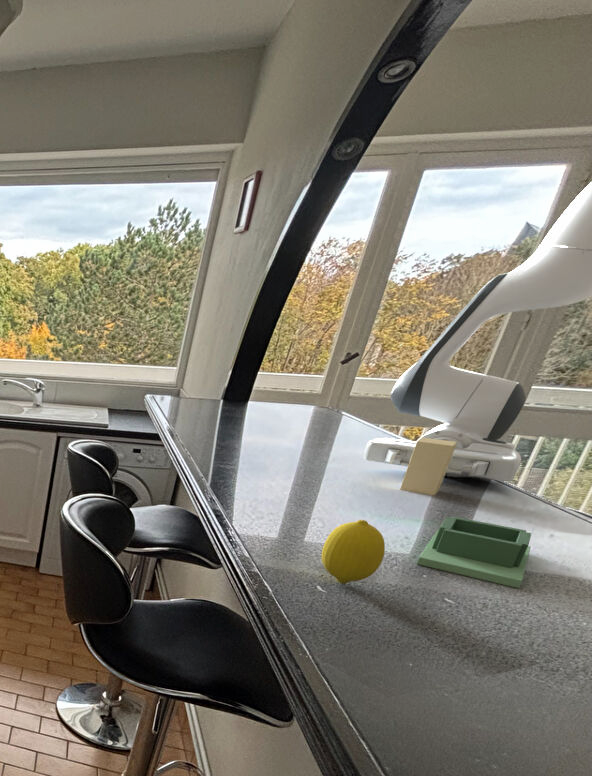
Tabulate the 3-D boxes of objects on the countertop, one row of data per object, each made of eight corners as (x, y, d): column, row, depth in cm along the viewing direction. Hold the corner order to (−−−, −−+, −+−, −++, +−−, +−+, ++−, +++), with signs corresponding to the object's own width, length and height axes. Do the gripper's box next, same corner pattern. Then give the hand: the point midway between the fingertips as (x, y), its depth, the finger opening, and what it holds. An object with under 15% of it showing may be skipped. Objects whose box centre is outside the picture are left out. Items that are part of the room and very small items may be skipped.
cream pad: (401, 493, 103) (421, 437, 100) (435, 499, 100) (457, 441, 96) (396, 498, 101) (416, 441, 97) (431, 505, 97) (453, 445, 94)
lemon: (347, 596, 67) (370, 530, 64) (302, 576, 72) (321, 514, 69) (383, 590, 68) (407, 526, 65) (337, 571, 73) (357, 510, 70)
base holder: (436, 534, 85) (446, 508, 83) (527, 553, 79) (540, 525, 77) (416, 564, 75) (427, 535, 74) (518, 588, 69) (533, 557, 67)
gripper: (377, 427, 115) (361, 437, 106) (528, 445, 101) (522, 457, 92) (367, 459, 117) (350, 471, 109) (513, 480, 103) (506, 496, 94)
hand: (430, 465), depth 100 cm, fingers open, 8 cm apart
